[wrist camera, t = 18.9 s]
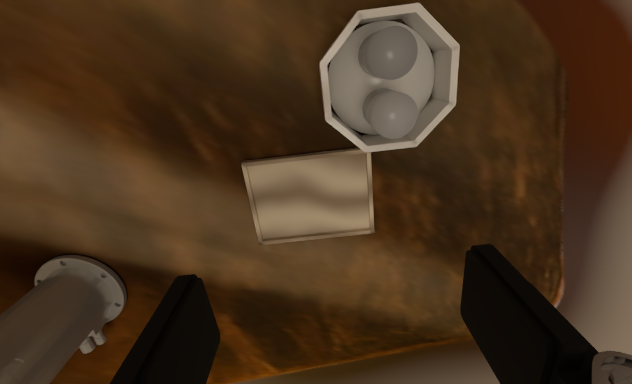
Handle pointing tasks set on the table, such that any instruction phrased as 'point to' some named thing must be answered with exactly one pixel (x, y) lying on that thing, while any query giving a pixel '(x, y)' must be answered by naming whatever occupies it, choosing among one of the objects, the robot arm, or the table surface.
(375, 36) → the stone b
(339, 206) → the tray
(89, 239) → the table surface
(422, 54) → the bowl
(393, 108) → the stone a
